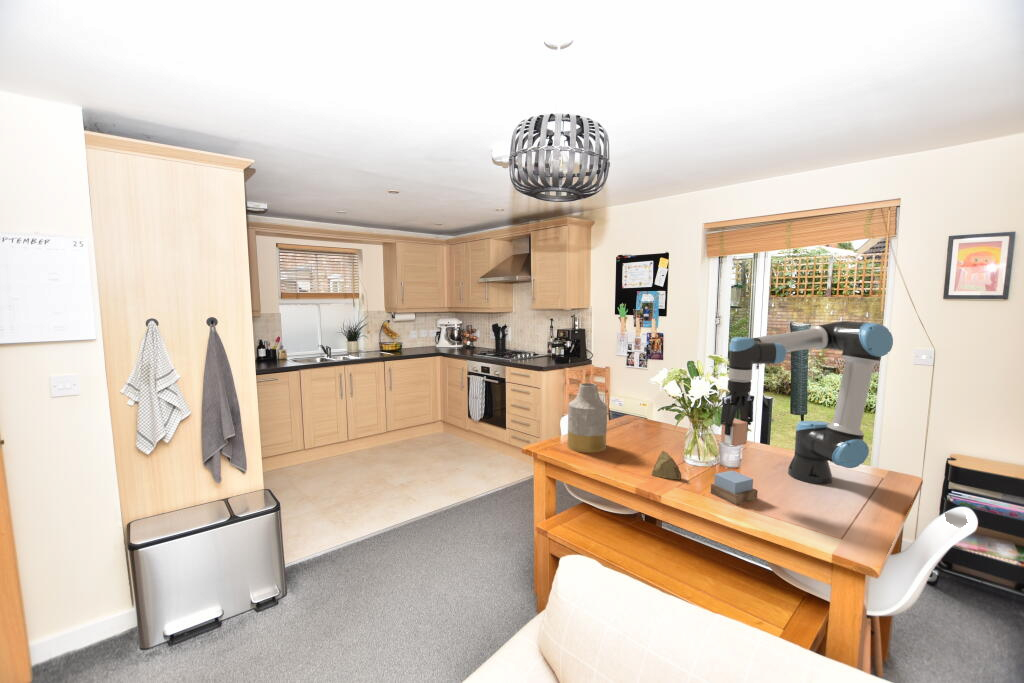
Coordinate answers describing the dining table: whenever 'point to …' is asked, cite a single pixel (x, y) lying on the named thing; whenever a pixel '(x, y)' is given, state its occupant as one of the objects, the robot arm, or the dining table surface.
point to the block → (737, 432)
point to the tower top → (733, 482)
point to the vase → (587, 421)
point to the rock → (666, 467)
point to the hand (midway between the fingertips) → (735, 442)
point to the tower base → (734, 495)
